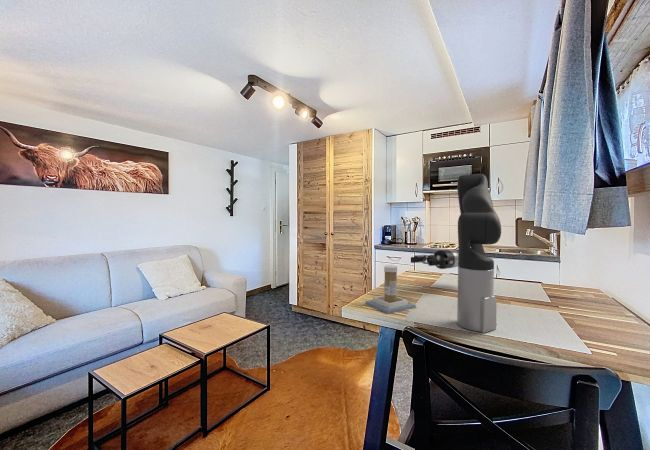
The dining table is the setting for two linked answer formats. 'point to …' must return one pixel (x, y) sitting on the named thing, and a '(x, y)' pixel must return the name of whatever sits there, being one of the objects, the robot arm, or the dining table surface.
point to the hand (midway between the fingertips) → (419, 261)
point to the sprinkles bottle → (390, 283)
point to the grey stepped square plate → (390, 304)
